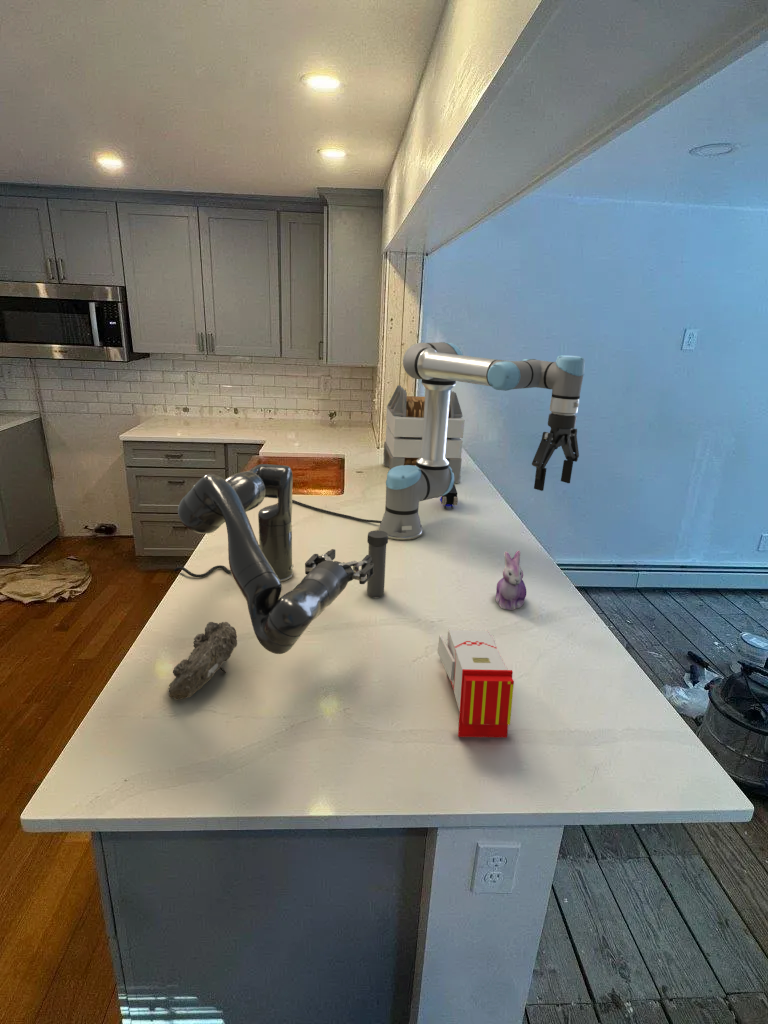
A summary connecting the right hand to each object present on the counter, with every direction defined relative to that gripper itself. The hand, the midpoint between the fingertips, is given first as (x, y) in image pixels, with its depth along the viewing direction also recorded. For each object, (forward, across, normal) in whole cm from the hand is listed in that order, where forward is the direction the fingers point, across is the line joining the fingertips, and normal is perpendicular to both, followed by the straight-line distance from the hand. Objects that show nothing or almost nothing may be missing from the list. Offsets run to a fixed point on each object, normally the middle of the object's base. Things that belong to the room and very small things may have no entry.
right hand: (552, 485), depth 166 cm
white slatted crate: (+28, +46, +101) cm, 115 cm away
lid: (+10, -50, +19) cm, 54 cm away
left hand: (+7, -69, +6) cm, 70 cm away
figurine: (+28, -23, -7) cm, 37 cm away
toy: (+28, -62, -26) cm, 72 cm away
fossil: (+28, -101, +13) cm, 106 cm away
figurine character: (+28, +23, +60) cm, 70 cm away
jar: (+28, -50, +19) cm, 60 cm away
